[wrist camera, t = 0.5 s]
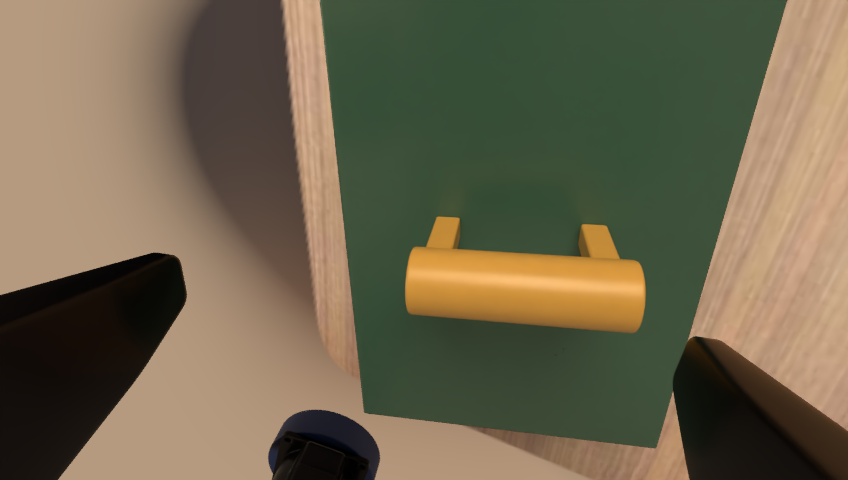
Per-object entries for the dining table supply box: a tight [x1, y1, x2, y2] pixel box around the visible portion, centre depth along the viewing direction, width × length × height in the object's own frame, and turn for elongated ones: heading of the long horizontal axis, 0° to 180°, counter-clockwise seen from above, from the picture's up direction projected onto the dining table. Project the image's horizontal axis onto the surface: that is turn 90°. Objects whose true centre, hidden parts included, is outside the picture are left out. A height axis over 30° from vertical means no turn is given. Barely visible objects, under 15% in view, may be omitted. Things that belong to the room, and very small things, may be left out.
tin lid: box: [320, 0, 787, 448], centre depth 12 cm, size 15×10×4 cm
